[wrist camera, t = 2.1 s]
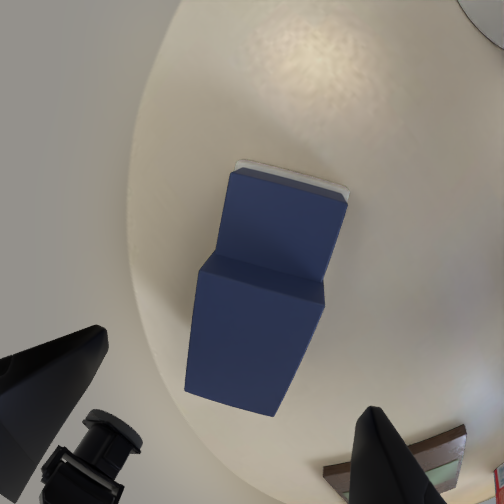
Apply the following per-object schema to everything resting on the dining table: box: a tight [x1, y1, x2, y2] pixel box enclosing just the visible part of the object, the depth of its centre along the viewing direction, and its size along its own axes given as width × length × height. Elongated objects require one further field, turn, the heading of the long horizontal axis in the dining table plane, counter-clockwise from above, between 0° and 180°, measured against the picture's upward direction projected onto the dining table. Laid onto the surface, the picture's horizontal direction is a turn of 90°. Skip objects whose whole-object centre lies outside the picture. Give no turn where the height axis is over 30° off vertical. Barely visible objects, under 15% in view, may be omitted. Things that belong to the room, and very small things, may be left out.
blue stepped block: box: [184, 159, 350, 417], centre depth 13 cm, size 11×5×5 cm, turn 168°
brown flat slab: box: [323, 424, 467, 503], centre depth 21 cm, size 14×18×1 cm
